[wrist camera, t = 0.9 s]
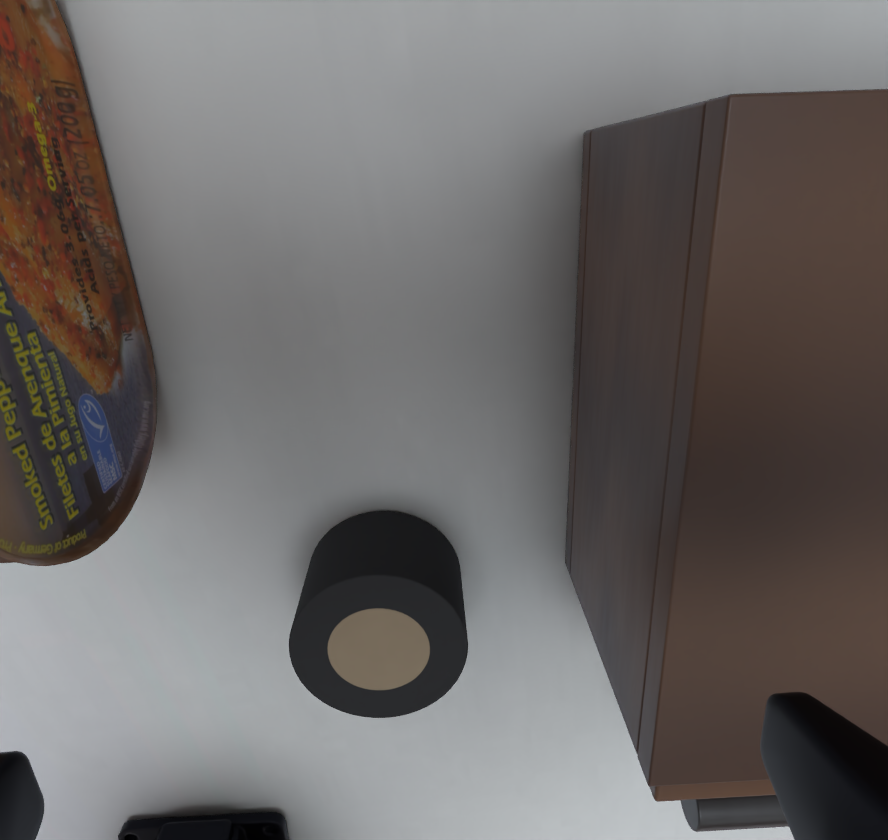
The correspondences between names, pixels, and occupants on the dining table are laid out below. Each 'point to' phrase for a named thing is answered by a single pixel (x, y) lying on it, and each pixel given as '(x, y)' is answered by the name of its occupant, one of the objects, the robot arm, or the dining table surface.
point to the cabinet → (733, 420)
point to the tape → (380, 617)
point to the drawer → (726, 804)
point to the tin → (63, 311)
